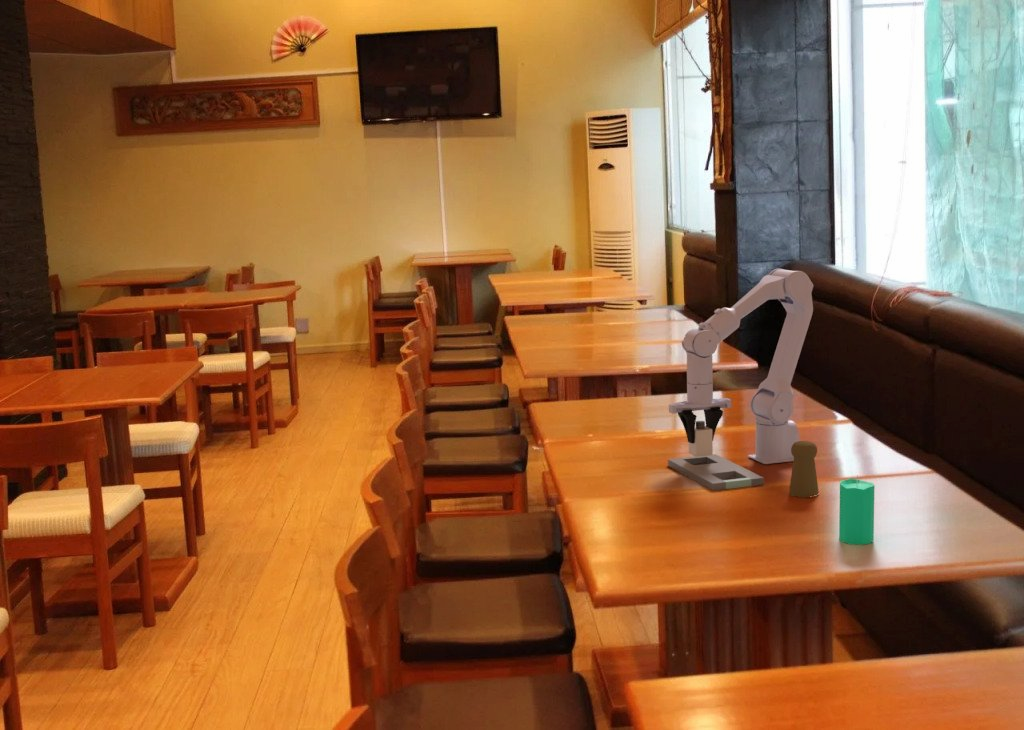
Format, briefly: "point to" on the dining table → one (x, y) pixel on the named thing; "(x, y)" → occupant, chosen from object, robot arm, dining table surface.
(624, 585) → the dining table surface
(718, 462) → the grey board with holes
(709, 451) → the plug
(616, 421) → the dining table surface
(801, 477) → the cork
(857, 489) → the candle
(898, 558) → the dining table surface
